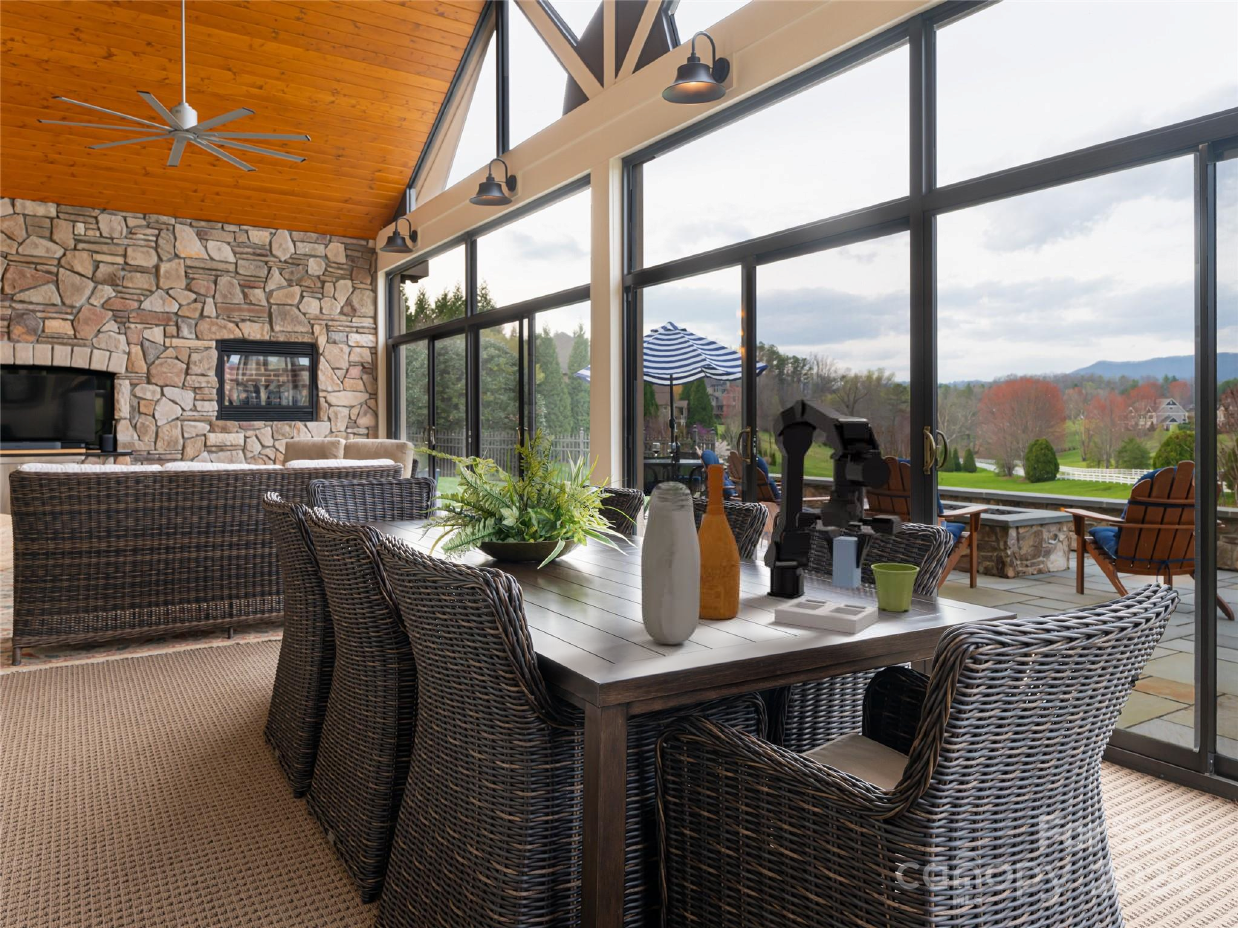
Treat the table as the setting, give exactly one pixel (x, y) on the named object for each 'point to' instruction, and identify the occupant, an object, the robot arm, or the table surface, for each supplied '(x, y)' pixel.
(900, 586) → the plant pot
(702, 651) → the table surface
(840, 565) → the plug
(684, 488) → the grey vase
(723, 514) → the wine bottle
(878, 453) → the robot arm
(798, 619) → the white socket block
